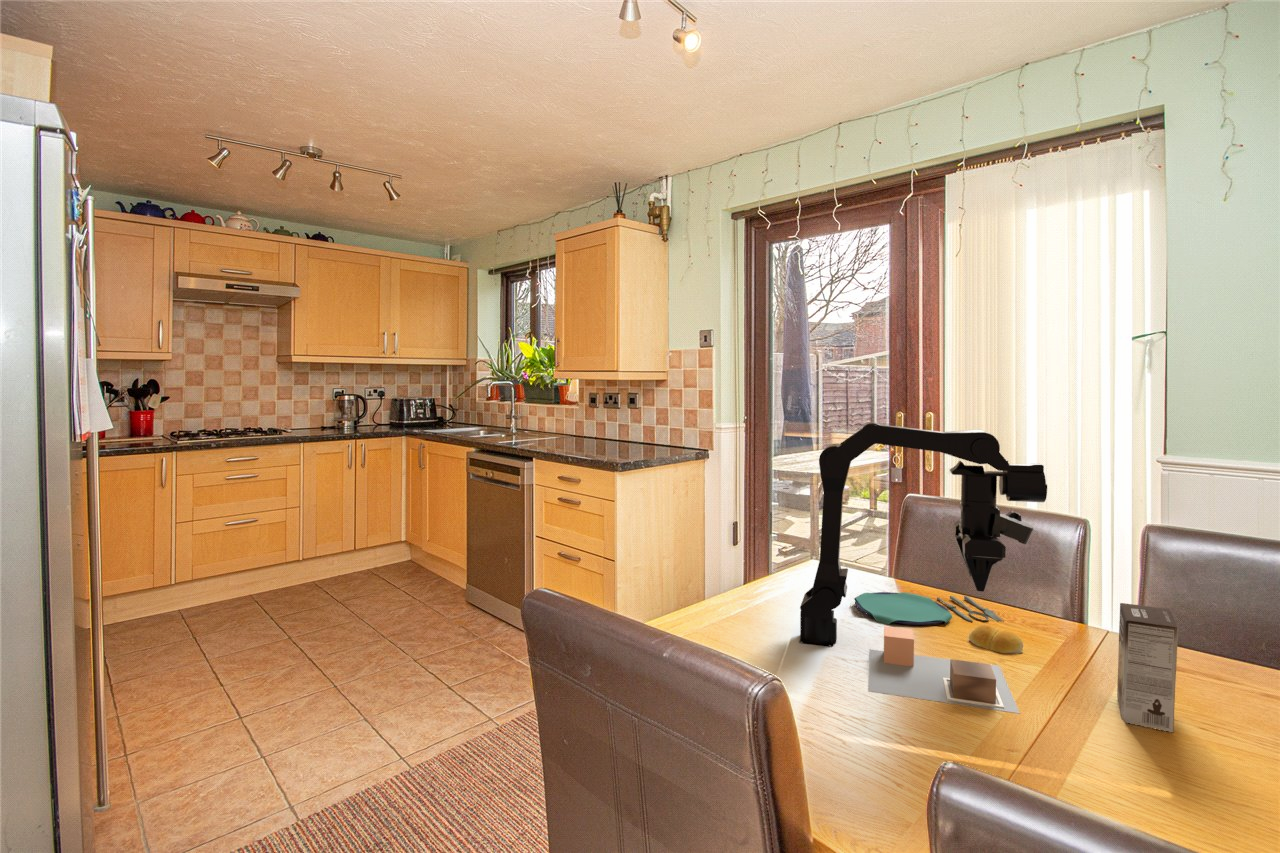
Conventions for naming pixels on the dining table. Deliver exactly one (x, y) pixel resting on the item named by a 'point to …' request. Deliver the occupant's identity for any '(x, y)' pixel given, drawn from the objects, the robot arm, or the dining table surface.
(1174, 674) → the coffee box
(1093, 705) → the dining table surface
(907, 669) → the slate board
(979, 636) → the bread roll
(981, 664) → the walnut block
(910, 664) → the terracotta block
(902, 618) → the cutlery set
